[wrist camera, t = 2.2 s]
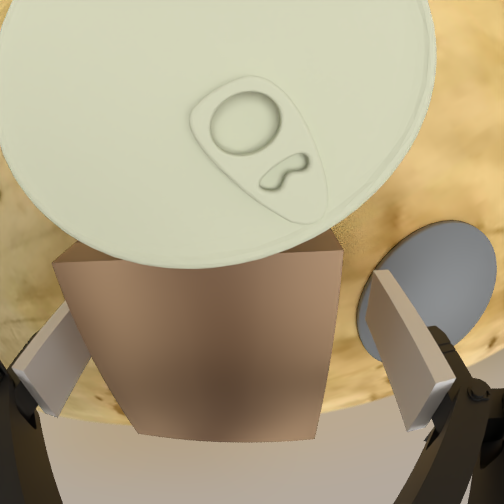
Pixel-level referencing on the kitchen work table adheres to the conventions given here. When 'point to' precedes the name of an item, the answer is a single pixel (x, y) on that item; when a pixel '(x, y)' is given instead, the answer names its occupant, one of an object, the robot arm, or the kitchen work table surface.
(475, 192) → the kitchen work table surface
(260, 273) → the wooden stool
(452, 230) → the rubber mat
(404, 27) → the can
